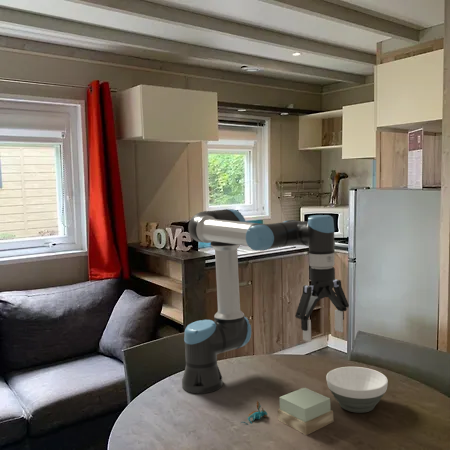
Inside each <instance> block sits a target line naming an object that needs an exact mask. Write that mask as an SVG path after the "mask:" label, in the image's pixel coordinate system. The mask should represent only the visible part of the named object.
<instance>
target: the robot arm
mask: <svg viewBox="0 0 450 450" xmlns="http://www.w3.org/2000/svg"><path fill="white" fill-rule="evenodd" d="M188 233H189V235H190V237H191V238H192V239H193V240H194V241H196V242H198V243H205V244H210V247H211V248H212V249H213V250H214V256H215V257H214V259H215V279H216V297H217V298H216V299H217V312H216V313H215V314H214V320H212V319H202V320H201V319H200V320H196V321H194V322H193V321H192V322H191V323H189V324H187V326H186V327H185V329H184V336H183V337H184V338H183V340H184V349H185V351H184V354H185V368H184V372H183V375H182V379H181V386H182V389H183V390H184V391H186V392H188V393H191V394H192V393H193V394H207V393H213V392H215V391H218V390H220V389H221V388H222V387H223V384H224V382H223V380H224V379H223V376H222V374H221V370H220V367H219V365H218V355H219V354H222V353H223V354H224V353H226V352H230V351H234V350H237V349H240V348H242V347H245V346H246V345H248V343H249V342H250V340H251V337H252V325H251V324H250V321H249V319H248V318H247V317H246V316H245V313H244V312H243V311H242V310H241V301H240V300H241V299H240V280H239V278H240V277H239V260H238V259H239V257H238V256H239V255H238V248H239V247H240V246H245V247H249V248H250V250H252V251H254V252H255V251H256V252H257V251H266V250H272V249H277V248H286V247H292V246H306V247H308V262H309V263H308V265H309V268H308V269H309V270H308V271H309V280H310V281H311V284H310V285H307V284H306V285H305V284H304V285H302V294H301V297H300V300H299V303H298V306H297V309H296V312H295V318H297V319H299V320H300V323H301V331H302V340H303V341H306V342H307V343H308V342H309V343H311V342H312V322H311V319H310V317H311V316H312V313H313V311H314V309H315V307H316V305H317V303H318V302H319V301H320V300H321V299H324V298H328V299H329V300H330V302H331V303H332V304H333V306H334V307H335V309H334V331H335V332H339V333H344V319H345V317H344V316H345V314H344V312H347V310H348V308H349V306H350V305H349V301H348V299H347V297H346V295H345V292H344V290H343V287H342V281H341V279H336V271H335V270H336V269H335V267H334V266H335V222H334V217H333V216H331V214H330V215H329V214H324V215H323V214H315V215H314V214H313V215H309V216H308V219H307V221H304V220H295V219H291V220H283V221H282V222H276V223H258V222H248V221H246V219H245V217H244V215H243V214H242V212H240V211H239V210H237V209H231V208H230V209H229V208H228V209H227V208H225V209H217V210H205V211H200V212H198V213H196V214H194V215H193V216H191V219H190V220H189V222H188Z"/></svg>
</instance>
